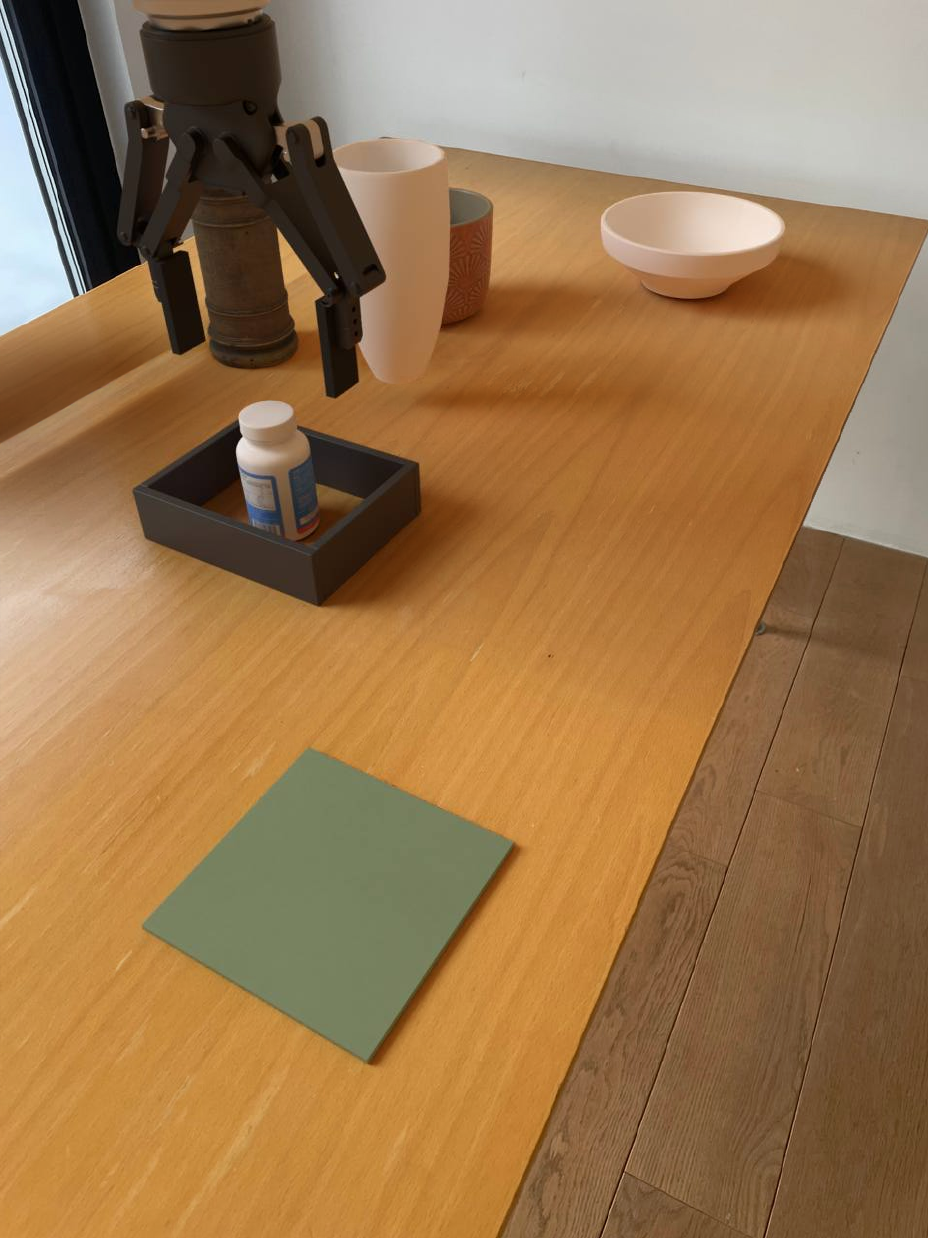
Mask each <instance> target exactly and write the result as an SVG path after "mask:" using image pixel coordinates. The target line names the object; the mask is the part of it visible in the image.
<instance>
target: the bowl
mask: <svg viewBox="0 0 928 1238" xmlns="http://www.w3.org/2000/svg"><path fill="white" fill-rule="evenodd" d="M786 230H787V227H786V223H785V221H784V220H783V218H782V217H781V216H780V215H779V214H778V213H777V212H776V211H773V210H772V209H770V208H768V207H766V206H764V205H762V204H761V203H757V202H755V201H751V200H748V199H745V198H741V197H736V196H734V195H733V196H732V195H727V194H720V193H714V192H703V191H662V192H651V193H646V194H639V195H635V196H631V197H628V198H624V199H622V200H620V201H617V202H615V203H613V204H612V205H610V206H609V207H608V208H606V210H605V211H604V212H603V214H602V215H601V219H600V236H601V241H602V245H603V248H604V250H605V252H606V253H607V254H608V255H609V256H610V257H611V258H612V259H614V260H615V261H617V262H619V263H620V264H621V265H622V266H623V267H624V268H626V269H627V270H628V271H629V272H631V273H632V274H633V275H635V276H636V277H637V278H638V279H639V280H640V282H641V284H642V285H643V287H645V288H646V289H648V290H649V291H651V292H653V293H655V294H658V295H662V296H664V297H670V298H675V299H676V298H678V299H703V298H704V299H705V298H710V297H714V296H717V295H719V294H722V293H724V292H725V291H726V290H727V289H728V288H729V287H730V286H731V285H732V284H734V283H736V282H738V281H740V280H742V279H744V278H746V277H747V276H749V275H751V274H753V273H754V272H756V271H759V270H762V269H764V268H765V267H767V266H768V265H771V263H773V261H774V260H775V259H776V258H777V256H778V254H779V251H780V249H781V248H782V244H783V242H784V239H785V234H786V232H787V231H786Z"/></svg>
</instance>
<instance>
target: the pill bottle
mask: <svg viewBox="0 0 928 1238" xmlns="http://www.w3.org/2000/svg"><path fill="white" fill-rule="evenodd" d="M238 419H239V424H240V431H241V434H242V436H243V437H242V438H241V440H240V441H239V443H238V445H237V448H236V456H237V462H238V467H239V471H240V476H241V477H240V480H241V485H242V490H243V495H244V500H245V504H246V509H247V514H248V519H249V525H251V526H254V527H257V528H260V529H262V530H265V531H268V532H271V533H273V534H276V535H279V536H282V537H284V538H287V539H290V540H292V541H295V542H297V541H299V540H302V539H304V538H307V537H309V535H311V534H312V533H313V532H314V531H315V530H316V529H317V528H318V526H319V524H320V522H321V521H320V520H321V514H320V506H319V499H318V493H317V492H318V491H317V486H316V485H317V484H316V482H315V478H314V471H313V464H312V458H311V451H310V446H309V442H308V439H307V438H306V436H305V435H304V434H303V433H302V432H301V431H299V430H297V425H298V424H297V420H296V414H295V410H294V408H293V406H292V405H290V404H289V403H287V402H284V401H282V400H281V401H280V400H261V401H257V402H254V403H251V404H248V405H247V406H245V407H244V408H243V409H242V410H241V411H240V412H239V414H238Z"/></svg>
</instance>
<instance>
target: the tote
mask: <svg viewBox="0 0 928 1238" xmlns="http://www.w3.org/2000/svg"><path fill="white" fill-rule="evenodd" d="M297 430H299V431H301V432H302V433H303V434H304V435H305V436H306V438H307V439H308V442H309V446H310V451H311V458H312V464H313V471H314V478H315V484H319V485H322V486H325V487H328V488H332V489H334V490H338V491H341V492H344V493H347V494H350V495H353V496H356V497H359V498H362V499H363V500H362V501H360V503H359V504H357V506H355V507H354V508H353V509H352V510H351V511H349V512H347V514H346V515H345V516H344V517H342V518H341V519H340V520H339V521H337V522H336V523H335V524H334V525H333V526H332V527H330V528H329V529H328V530H327V531H326V532H324V533H323V534H322V535H321V536H320V537H319V538H317V539H315V541H314V542H313V543H312V544H311V545H306V544H303V543H300V542H298V541H292V540H290V539H287V538H284V537H282V536H279V535H276V534H273V533H271V532H268V531H265V530H262V529H260V528H257V527H254V526H251V524H250V523H246V522H243V521H241V520H237V519H235V518H232V517H230V516H227V515H223V514H222V513H218V512H216V511H213V510H210V509H207V508H205V507H202V506H203V505H204V504H206V503H207V502H209V501H211V500H212V499H213V498H214V497H216V496H217V495H218V494H220V493H221V492H222V491H224V490H225V489H226V488H228V487H229V486H231V485H232V484H234V483H235V482H237V480H239V479H241V476H240V471H239V467H238V462H237V456H236V448H237V445H238V443H239V441H240V440H241V438H242V437H243V436H242V434H241V431H240V424H239V418H237V419H236V420H235V421H233V422H231V423H230V424H228V425H227V426H225V427H224V428H222V429H221V430H219V431H218V432H216V433H214V435H212V436H210V437H209V438H207V439H206V440H204V441H203V442H201V443H200V444H197V446H195V447H194V448H192V449H190V450H189V451H188V452H186V453H185V454H183V455H182V456H180V457H179V458H177V459H176V460H174V461H172V462H171V463H169V464H168V465H167V466H165V467H164V468H162V469H161V470H159V471H158V472H156V473H154V474H153V475H152V476H150V477H148V478H147V479H146V480H144V481H143V482H141V483H140V484H137V485H136V486H134V487H133V488H132V490H131V491H132V494H133V499H134V502H135V505H136V509H137V513H138V517H139V520H140V525H141V528H142V533H143V536H144V538H145V539H146V540H148V541H151V542H153V543H155V544H158V545H160V546H163V547H167V548H169V549H171V550H174V551H176V552H178V553H182V554H184V555H186V556H188V557H189V556H190V557H191V558H194V559H197V560H199V561H202V562H204V563H207V564H209V565H212V566H214V567H217V568H220V569H222V570H225V571H227V572H229V573H232V574H235V575H237V576H240V577H242V578H245V579H247V580H250V581H253V582H255V583H258V584H260V585H263V586H266V587H268V588H271V589H273V590H275V591H279V592H281V593H283V594H286V595H289V596H290V597H293V598H296V599H298V600H300V601H304V602H306V603H309V604H311V605H313V606H316V607H320V606H321V605H322V604H323V603H324V602H325V600H327V599H328V598H329V597H330V596H331V595H332V594H334V593H335V592H336V591H337V590H338V589H339V588H341V586H342V585H343V584H345V583H346V581H348V580H349V579H350V578H351V577H353V575H354V574H355V573H357V571H358V570H360V569H361V568H362V567H363V566H364V565H365V564H366V563H368V561H369V560H370V559H371V558H373V557H374V556H375V555H376V554H377V553H378V552H379V551H380V550H382V548H383V547H385V546H386V545H387V544H388V543H389V542H390V541H391V540H392V539H393V538H394V537H396V536H397V535H398V534H399V533H400V532H401V531H403V529H404V528H405V527H406V526H407V525H409V523H410V522H411V521H412V520H414V519H415V518H416V516H418V515H419V514H420V513H421V512H422V493H421V477H420V476H421V473H420V472H421V471H420V462H418V461H415V460H411V459H408V458H405V457H401V456H399V455H395V454H392V453H390V452H387V451H386V452H385V451H383V450H379V449H376V448H372V447H369V446H366V445H362V444H360V443H357V442H354V441H349V440H347V439H343V438H339V437H337V436H334V435H331V434H327V433H324V432H321V431H318V430H314V429H311V428H307V427H304V426H303V425H302V426H301V425H298V424H297Z"/></svg>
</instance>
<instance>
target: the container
mask: <svg viewBox="0 0 928 1238" xmlns="http://www.w3.org/2000/svg"><path fill="white" fill-rule="evenodd" d="M271 183H273V179H272V178H271V179H270V181H269V182H268V184H271ZM268 184H267V185H268ZM190 220H191V224H192V230H193V235H194V240H195V246H196V251H197V256H198V260H199V266H200V271H201V276H202V281H203V288H204V294H205V298H204V304H205V308H206V310H207V315H208V320H209V323H208V327H207V335H208V337H209V340H208V348H209V351H210V353H211V355H212V357H213V358H214V359H215V360H216V361H217V362H219V363H221V364H223V365H226V366H228V367H235V368H243V369H255V368H266V367H270V366H274V365H277V364H280V363H283V362H284V361H287V360H288V359H290V358H291V357H292V356H293V355H295V354H296V353H297V351H298V347H299V336H298V333H297V331H296V329H295V327H296V322H295V319H294V317H292V314H291V313H290V305H289V294H288V291H287V290H288V289H286V285H285V280H284V279H285V278H284V271H283V265H282V258H281V249H280V240H279V233H278V228H277V227H276V225H275V224H274V222H273V221H272V220H271V218H270V217H269V215H268V214H267V212H266V211H265V210H263V209H260V208H257V207H256V206H255V205H254V204H253V203H252V201H251V200H250V198H249V197H248V196H247V195H245V196H237V195H233V194H231V193H229V192H227V191H225V190H223V189H221V190H216V191H211V190H206V189H205V190H204V192H203V194H202V196H201V198H200V200H199V202H198V204H197V206H196V208H195V210H194V212H193V214H192V216H191V218H190Z"/></svg>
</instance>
